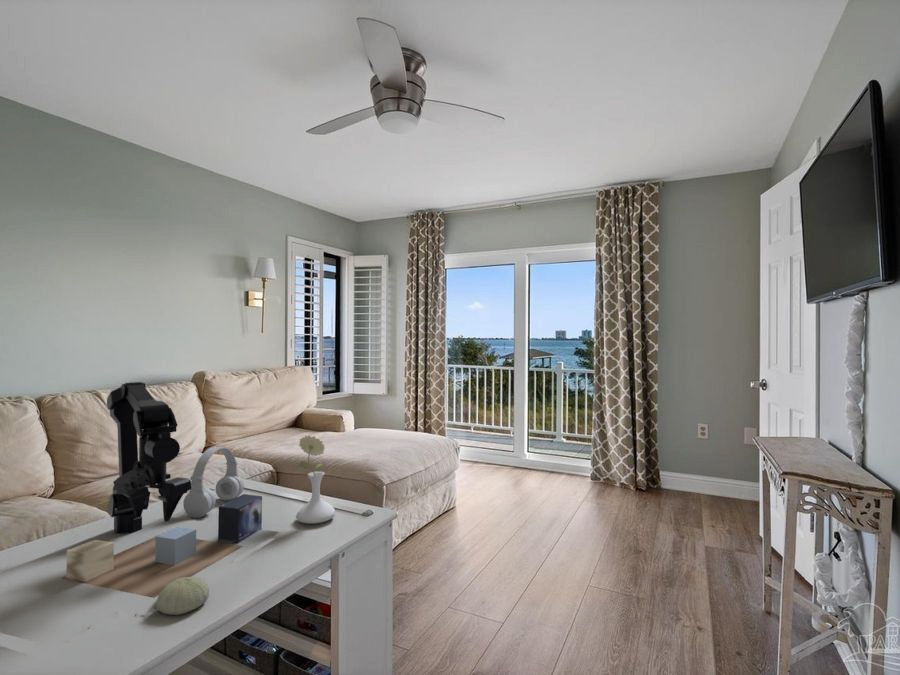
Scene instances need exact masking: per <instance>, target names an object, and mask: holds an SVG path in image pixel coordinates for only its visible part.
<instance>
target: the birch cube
mask: <svg viewBox="0 0 900 675" xmlns="http://www.w3.org/2000/svg"><path fill="white" fill-rule="evenodd" d="M114 544H115V543H114V542H113V541H105V540H99V539H93V540H90V541H87V542H85V543H82V544H79V545H77V546H75V547H73V548H69V549H66V574H65V575H66V578H69V579H74V580H79V581H84V582H87V581H89V580H91V579H93V578H95V577H97V576H100V575H102V574H104V573H106V572H108V571H110V570H112V569H114V555H115V554H114V551H115V550H114V549H115V546H114Z"/></svg>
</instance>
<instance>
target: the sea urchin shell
mask: <svg viewBox="0 0 900 675" xmlns="http://www.w3.org/2000/svg"><path fill="white" fill-rule="evenodd" d="M209 594H210V587H209V586H208V583H207V582H206V581H205V580H203V579H202V578H201V577H197V576H191V577H183V578H179V579H176V580H174V581H172V582H171V583H169V584H168V585H167V586H166V587H165V588H164V589H163V590H162V591H161V592H160V594H159V595H158V596H157V599H156V602H155V606H156V609H157V611H159V612H160V613H162V614H165V615H169V616H173V615H175V616H179V615H184V614H186V613H190V612H192V611H193V610H197V609H199V607H201V606H203V605H204V604H205V603H206V602H207V600H208V599H209Z"/></svg>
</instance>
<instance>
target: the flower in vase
mask: <svg viewBox="0 0 900 675" xmlns="http://www.w3.org/2000/svg"><path fill="white" fill-rule="evenodd" d="M298 446H299V447H300V448H301V450H303V452H304V453H305V454H308V456H307V461H304V460H302V461H301V462H300V463H299V464H298V467H302V468H305V469H308V468H310V469H311V471H312V472H309V473H307V474H306V475H307V477H308V478H309V480H310V483H311V498H310V500H309V501H308V502H307V503H305V505H303V506H302V507H301V508H300V509H299V510H298V511H297V512H296V515H295V517H296V519H297V521H298V522H300V523H302V524H310V525H311V524H312V525H314V524H320V523H324V522H327V521H329V520H331V519H333V518H334V517H335V515H336V510H335V508H334V507H333V506H332V505H331V504H329V503H328V502H327V501H325V500H324V499H322V498H321V482H322V479H323V477H324V476H325V474H326V473H325V472H324V471H314V470H317V469H319V468H320V467H322V465H323V464H324V462H322V463H319V464H317V465H315V467H314V468H313V467H312V466H311V463H310V456H313V457H315V456H316V457H317V456H321V455H323V454H324V452H325V449H326V448H325V444H323V440H321V439H320V438H316V436H311V435H305V436H304V437H301V438H300V439H299V443H298Z"/></svg>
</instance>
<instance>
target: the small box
mask: <svg viewBox="0 0 900 675" xmlns="http://www.w3.org/2000/svg"><path fill="white" fill-rule="evenodd" d="M262 513H263V496H261V495H254V494H247V493H244V494H241V495H240V496H238V497H237V498H234V499H232V500H228V501H227V502H224V503H222V504H221V505H219V506H218V521H217V522H218V523H217V524H218V525H217V527H218V529H217V542H220V543H226V544H239V543H241V542H243V541H245V540H246V539H247V538H249V537H251V536H252V535H254V534H256V533H257V532H259V531H262V529H263V528H262V524H263V522H262V521H263V520H262V519H263V514H262Z"/></svg>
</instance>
